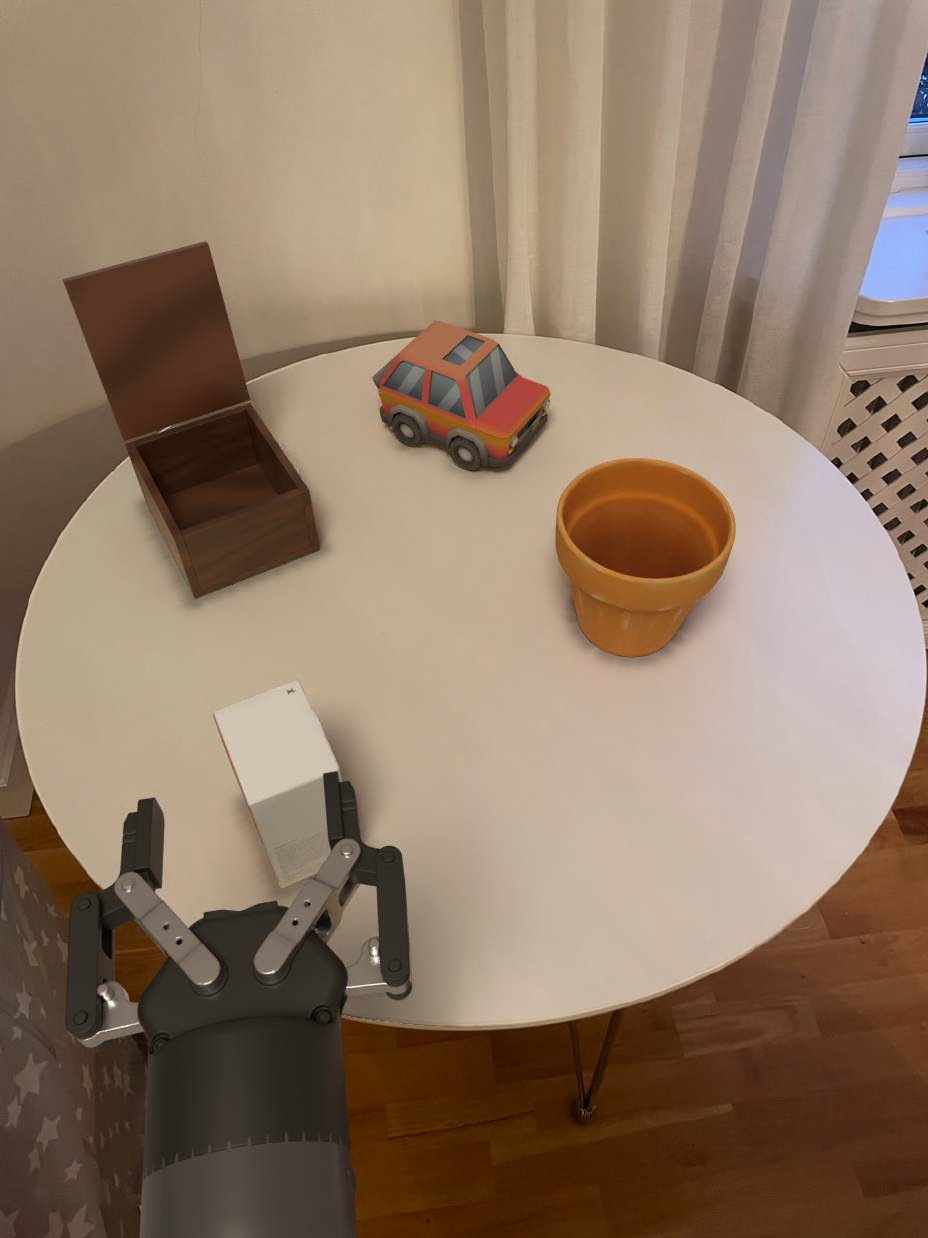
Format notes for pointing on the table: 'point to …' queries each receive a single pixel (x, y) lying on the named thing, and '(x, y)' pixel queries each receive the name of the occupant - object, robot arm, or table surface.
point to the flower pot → (640, 549)
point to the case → (224, 498)
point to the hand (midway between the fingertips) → (242, 792)
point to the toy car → (461, 397)
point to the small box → (282, 775)
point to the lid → (159, 338)
